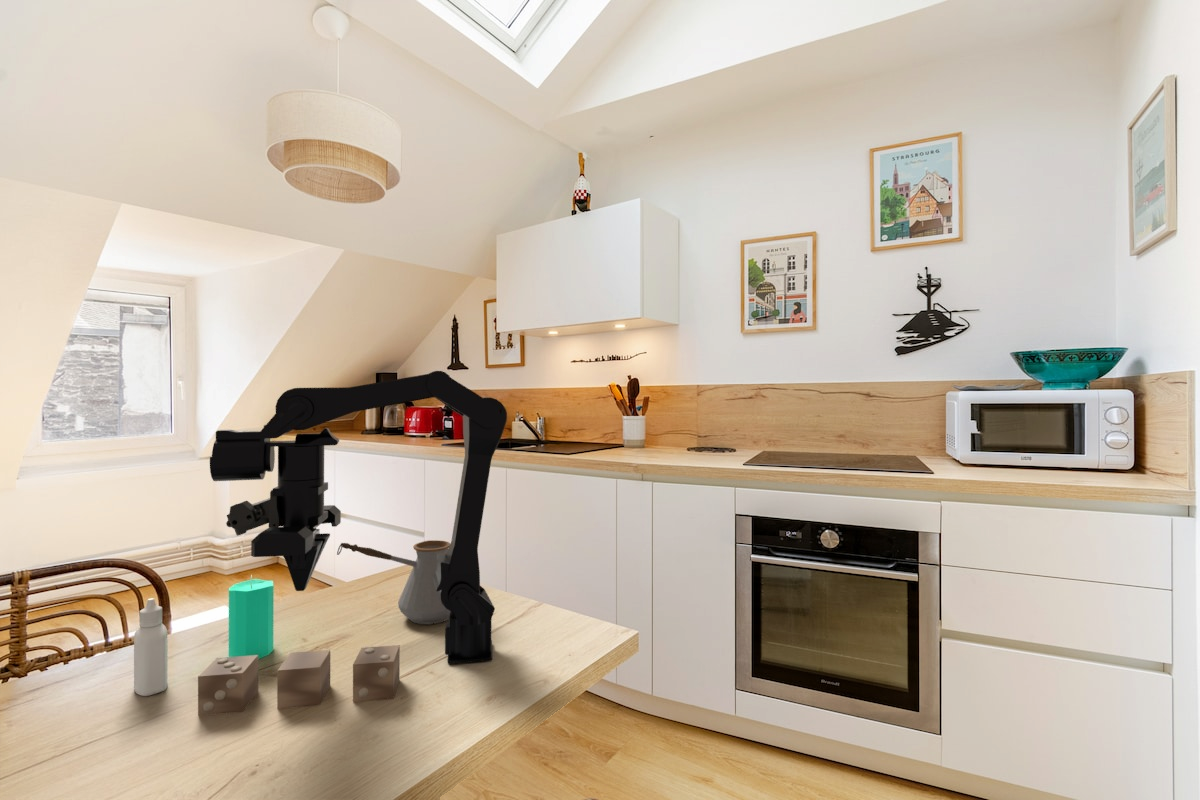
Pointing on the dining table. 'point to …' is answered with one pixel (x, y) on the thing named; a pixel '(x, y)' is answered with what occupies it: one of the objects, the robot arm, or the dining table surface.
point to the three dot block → (227, 685)
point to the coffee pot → (417, 581)
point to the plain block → (303, 679)
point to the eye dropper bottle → (150, 651)
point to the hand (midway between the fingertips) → (300, 590)
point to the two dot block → (376, 673)
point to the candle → (251, 618)
